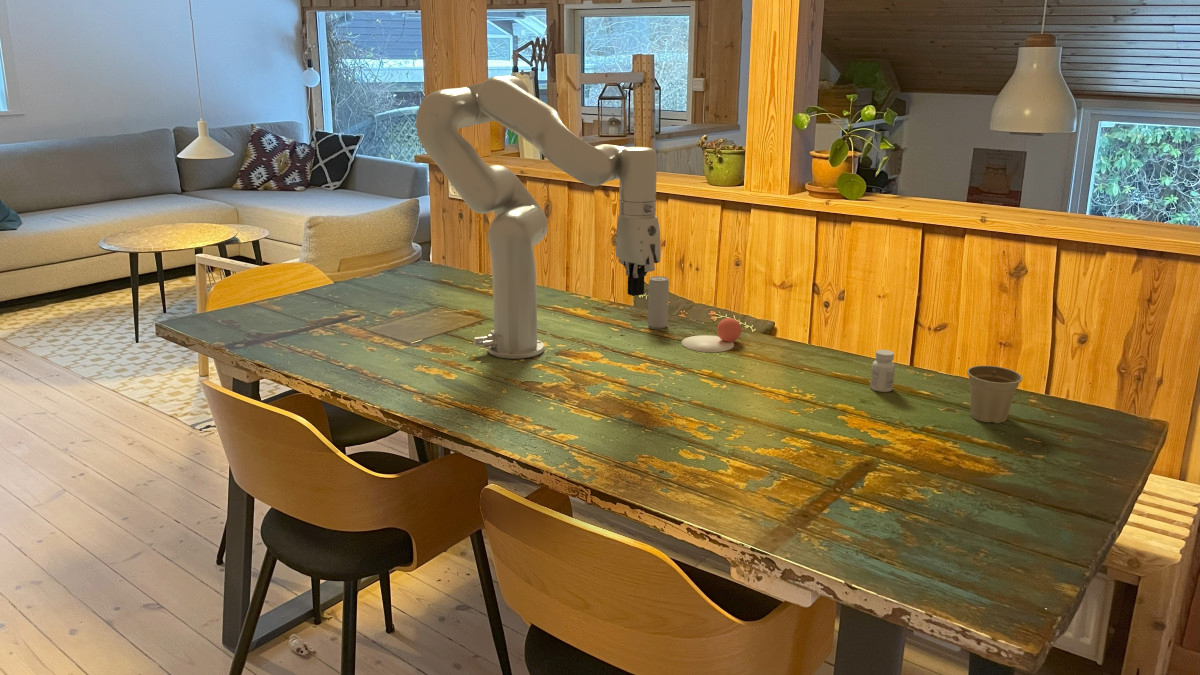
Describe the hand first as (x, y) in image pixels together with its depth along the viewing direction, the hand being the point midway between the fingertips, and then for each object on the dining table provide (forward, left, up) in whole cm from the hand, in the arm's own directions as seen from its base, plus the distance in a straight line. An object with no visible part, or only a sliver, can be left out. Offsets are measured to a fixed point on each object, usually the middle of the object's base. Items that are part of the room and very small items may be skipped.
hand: (635, 294), depth 196 cm
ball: (+26, +4, -12) cm, 30 cm away
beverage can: (+17, +21, -15) cm, 31 cm away
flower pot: (+46, -55, -15) cm, 73 cm away
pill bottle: (+38, -35, -15) cm, 54 cm away
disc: (+21, +4, -15) cm, 26 cm away
